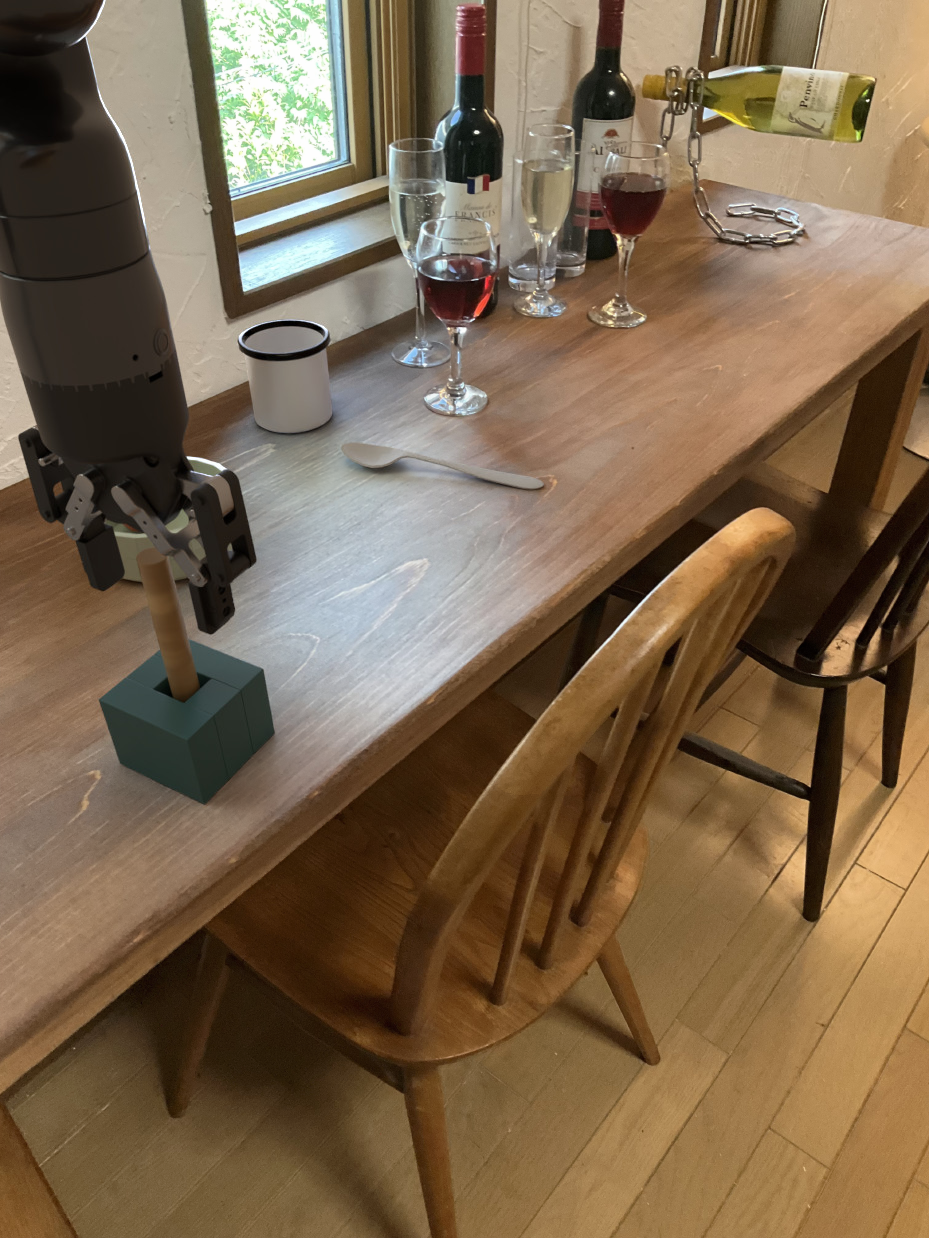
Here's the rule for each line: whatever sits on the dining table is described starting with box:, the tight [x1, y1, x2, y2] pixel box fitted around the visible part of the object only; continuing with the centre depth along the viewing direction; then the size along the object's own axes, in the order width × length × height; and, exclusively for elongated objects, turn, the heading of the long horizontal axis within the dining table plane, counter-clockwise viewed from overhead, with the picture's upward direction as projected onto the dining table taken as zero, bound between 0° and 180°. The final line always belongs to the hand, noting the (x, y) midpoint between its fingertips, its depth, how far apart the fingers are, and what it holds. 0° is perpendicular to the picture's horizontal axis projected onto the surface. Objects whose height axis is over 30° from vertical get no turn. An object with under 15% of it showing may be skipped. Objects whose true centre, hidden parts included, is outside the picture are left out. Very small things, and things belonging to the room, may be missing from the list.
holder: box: [98, 638, 276, 805], centre depth 64 cm, size 7×7×6 cm
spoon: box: [340, 442, 545, 491], centre depth 94 cm, size 4×21×2 cm, turn 75°
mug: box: [236, 318, 333, 434], centre depth 102 cm, size 12×10×9 cm
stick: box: [136, 547, 200, 703], centre depth 61 cm, size 2×2×16 cm
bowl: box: [105, 455, 232, 583], centre depth 84 cm, size 13×13×5 cm
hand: (161, 604), depth 58 cm, fingers open, 8 cm apart
